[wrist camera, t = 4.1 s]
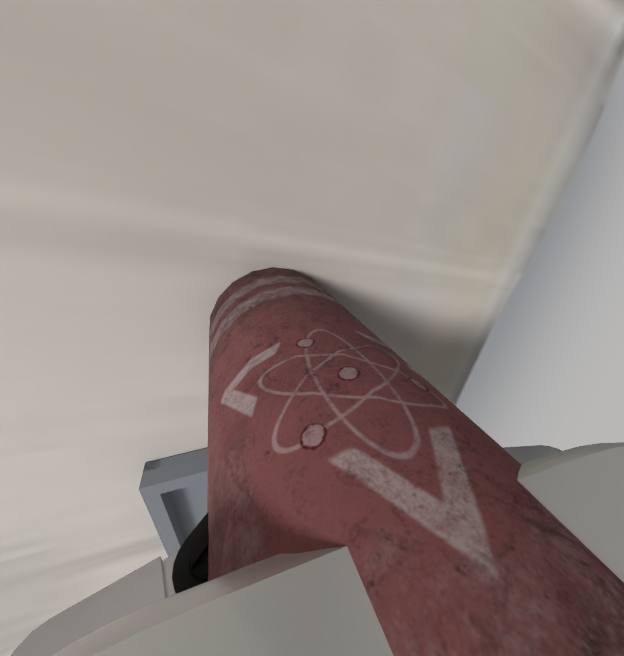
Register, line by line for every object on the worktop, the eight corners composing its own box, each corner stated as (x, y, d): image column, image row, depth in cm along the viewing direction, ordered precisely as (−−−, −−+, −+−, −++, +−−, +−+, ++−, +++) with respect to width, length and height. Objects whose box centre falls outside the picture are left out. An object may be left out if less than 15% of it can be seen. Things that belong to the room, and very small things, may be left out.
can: (177, 334, 13) (-175, 1846, 1) (272, 237, 13) (1504, 1182, 1) (269, 393, 16) (429, 960, 4) (347, 317, 16) (782, 724, 4)
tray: (145, 462, 16) (138, 489, 14) (380, 405, 20) (393, 421, 18) (195, 589, 22) (194, 615, 21) (363, 526, 26) (371, 545, 25)
